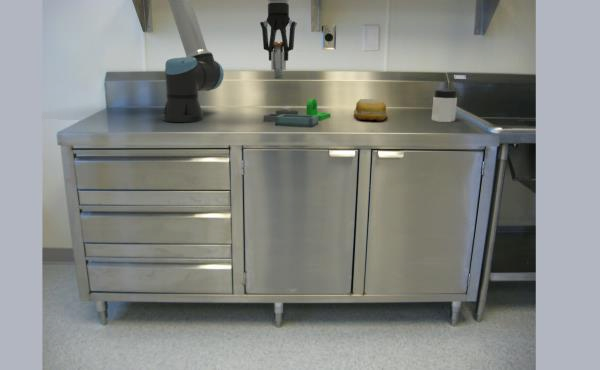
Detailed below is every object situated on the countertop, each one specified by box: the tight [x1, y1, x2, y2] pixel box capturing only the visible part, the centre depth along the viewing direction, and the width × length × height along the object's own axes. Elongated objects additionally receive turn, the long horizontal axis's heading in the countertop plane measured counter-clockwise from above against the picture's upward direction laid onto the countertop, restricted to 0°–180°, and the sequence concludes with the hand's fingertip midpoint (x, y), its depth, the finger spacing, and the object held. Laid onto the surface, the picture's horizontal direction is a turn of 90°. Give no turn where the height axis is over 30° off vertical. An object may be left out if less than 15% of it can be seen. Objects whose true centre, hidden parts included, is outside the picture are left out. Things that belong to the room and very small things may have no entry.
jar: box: [431, 89, 458, 123], centre depth 194 cm, size 9×8×12 cm
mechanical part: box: [305, 98, 331, 122], centre depth 197 cm, size 12×6×8 cm, turn 153°
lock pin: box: [272, 41, 284, 80], centre depth 184 cm, size 4×4×13 cm
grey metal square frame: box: [263, 113, 282, 123], centre depth 190 cm, size 7×7×2 cm
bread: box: [353, 98, 388, 122], centre depth 201 cm, size 13×26×8 cm, turn 176°
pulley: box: [275, 105, 299, 115], centre depth 201 cm, size 9×9×4 cm
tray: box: [274, 114, 319, 128], centre depth 179 cm, size 13×9×3 cm
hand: (278, 69), depth 184 cm, fingers closed on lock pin, 3 cm apart
